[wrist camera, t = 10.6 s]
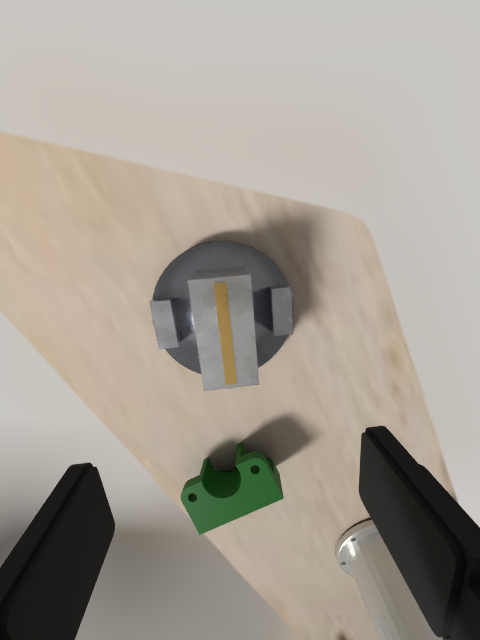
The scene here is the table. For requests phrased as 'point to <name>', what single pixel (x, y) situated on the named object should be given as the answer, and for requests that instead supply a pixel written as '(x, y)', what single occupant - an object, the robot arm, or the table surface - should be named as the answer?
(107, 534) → the robot arm
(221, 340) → the striped grey block
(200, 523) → the clamp
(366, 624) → the table surface
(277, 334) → the shallow grey dish
